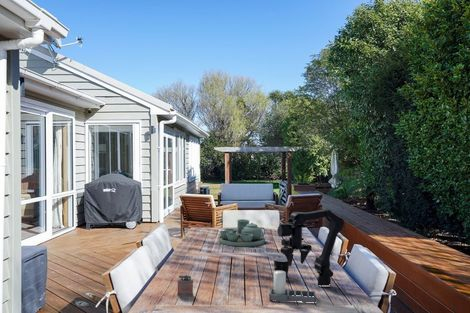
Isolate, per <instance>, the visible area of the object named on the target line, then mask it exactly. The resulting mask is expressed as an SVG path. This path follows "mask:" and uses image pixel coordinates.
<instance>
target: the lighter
mask: <svg viewBox="0 0 470 313" xmlns="http://www.w3.org/2000/svg"><path fill="white" fill-rule="evenodd" d="M178 278H179V279H177V281H176V282H177V293H176V296H178V295H179V296H180V297H192V296H194V285H193V284H194V279H192V275H188V274H185V275H184V274H179V275H178ZM191 295H192V296H191Z"/></svg>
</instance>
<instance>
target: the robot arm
mask: <svg viewBox="0 0 470 313" xmlns="http://www.w3.org/2000/svg"><path fill="white" fill-rule="evenodd" d="M323 218H325V219H326V221H328V233H327V235H326V236H327V237H326V239H325V241H324V245H323V248H322V251H321V253H320V256H316V257H315V259H314V260H315V261H314V262H313V264H314V265H313V268H314V269H315V271H316V273H317V274H318V276H317V286H319V285H329V284H331V281H332V280H331V279H332V278H333V276H334V272H333V271H332V270H331V269H330V268H331V267H330V266H331V261H330V260H331V255H332V253H333V249H334V246H335V243H336V240H337V238H338V234H339V233H340V232H341V231H342V230H343V229H344V226H345V220H344V219H343V218H342V217H339V216H338V215H336V214H335V213H334V212H332V210H330V209H327V208H324V209H320V210H313V211H307V212H301V211H292V212H291V214H290V216H289V218H288V220H287V221H286V222H285V223H279V225H278V227H277V229H276V230H277V235H278V237H279V238H280V237H281V238H282V237H289V238H288V239H286V238H284V239H281V242H280V243H281V248H280V253H282V255H284V256H285V258H286V259H287V261H288V264H289V267H292V264H293V258H294V255H295V254H294V252H297V251H299V253H300V264H301V265H303V264H304V263H305V260H306V258H307V257H308V255H309V254H310V252H311V251H312V249H313V248H312V245H311V244H308V243H307V244H306V243H303V241H304V237H303V229H304V228H307V226H306V225H305V223H307V222H308V221H311V220H316V219H323ZM282 246H283V247H282ZM331 285H332V284H331Z"/></svg>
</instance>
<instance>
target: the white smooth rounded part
mask: <svg viewBox="0 0 470 313" xmlns="http://www.w3.org/2000/svg"><path fill="white" fill-rule="evenodd" d="M286 280H287V277H286V272H285V271H275V270H274V271H273V288H272V289H273V294H274V295H285V290H287V289H286V288H287V287H286V284H287V283H286V282H287V281H286Z"/></svg>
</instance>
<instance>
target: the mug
mask: <svg viewBox="0 0 470 313" xmlns="http://www.w3.org/2000/svg"><path fill="white" fill-rule="evenodd" d="M273 267H274V271H285V272H286V278H287V277H288V275H289V268H290V266H289V264H288V261H287V258H286V257H275V258H274V259H273Z"/></svg>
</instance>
